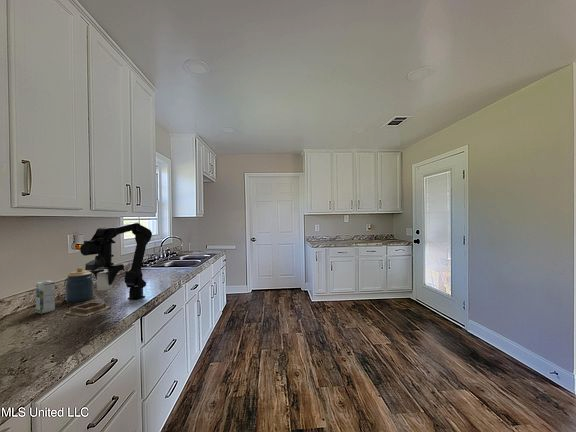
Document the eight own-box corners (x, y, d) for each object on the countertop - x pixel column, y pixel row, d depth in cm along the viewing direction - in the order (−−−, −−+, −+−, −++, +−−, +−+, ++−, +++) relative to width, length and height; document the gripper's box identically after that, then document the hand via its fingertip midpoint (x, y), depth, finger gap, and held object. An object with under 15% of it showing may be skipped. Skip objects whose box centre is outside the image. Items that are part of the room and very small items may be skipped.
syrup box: (35, 312, 134) (35, 282, 134) (50, 308, 139) (49, 279, 140) (40, 314, 132) (40, 283, 132) (55, 310, 137) (55, 280, 137)
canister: (61, 303, 147) (61, 270, 148) (68, 297, 159) (68, 266, 159) (91, 300, 153) (91, 268, 153) (96, 294, 165) (95, 264, 165)
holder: (91, 305, 144) (91, 300, 144) (111, 307, 140) (110, 302, 140) (65, 313, 131) (65, 308, 131) (85, 316, 127) (85, 311, 127)
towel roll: (105, 286, 141) (105, 271, 142) (115, 287, 140) (115, 271, 140) (93, 290, 135) (93, 273, 135) (103, 290, 134) (103, 273, 134)
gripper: (74, 254, 133) (74, 287, 132) (104, 255, 127) (104, 289, 127) (96, 252, 143) (96, 282, 143) (124, 252, 138) (124, 284, 138)
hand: (104, 284), depth 138 cm, fingers closed on towel roll, 6 cm apart
